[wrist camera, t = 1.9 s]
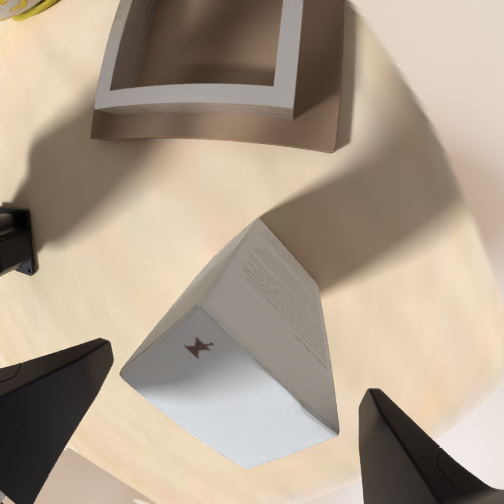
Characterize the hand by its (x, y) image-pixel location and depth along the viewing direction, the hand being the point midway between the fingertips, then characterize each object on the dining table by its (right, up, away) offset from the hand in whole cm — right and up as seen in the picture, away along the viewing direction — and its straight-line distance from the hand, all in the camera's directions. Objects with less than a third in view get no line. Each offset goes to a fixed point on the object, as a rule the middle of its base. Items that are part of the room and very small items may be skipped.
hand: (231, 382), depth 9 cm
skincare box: (+2, +3, +10) cm, 11 cm away
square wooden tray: (-2, +18, +6) cm, 19 cm away
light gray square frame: (-2, +18, +5) cm, 18 cm away
